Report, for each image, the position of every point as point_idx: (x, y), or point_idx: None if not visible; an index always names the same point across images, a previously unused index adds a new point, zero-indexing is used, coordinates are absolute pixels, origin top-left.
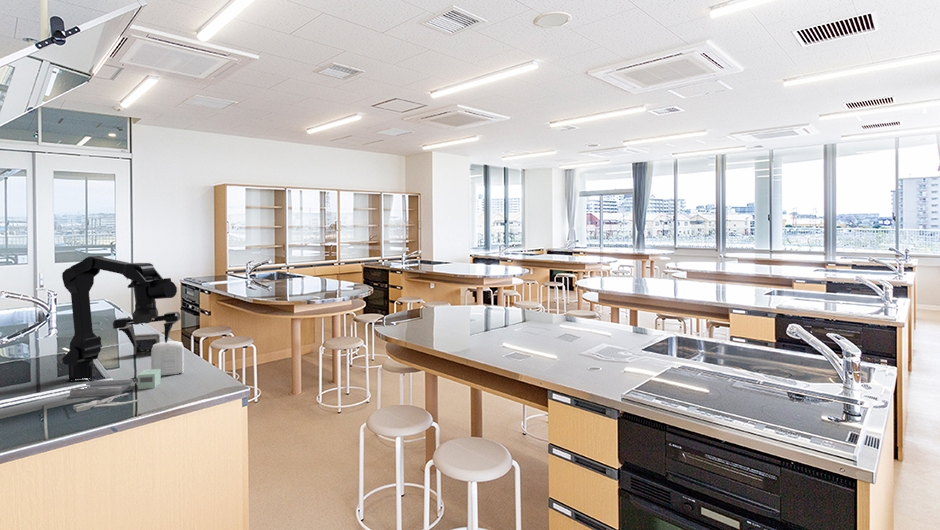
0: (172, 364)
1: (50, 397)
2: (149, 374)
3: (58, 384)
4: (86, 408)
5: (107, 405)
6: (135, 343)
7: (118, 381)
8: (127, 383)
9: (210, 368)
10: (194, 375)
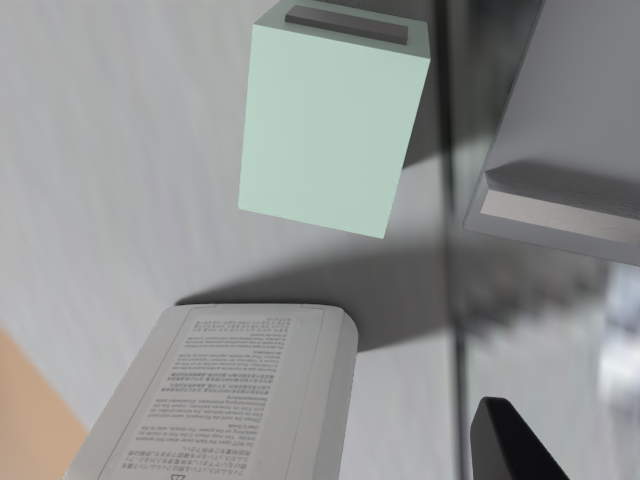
0: (196, 355)
1: None
2: (308, 36)
3: None
4: None
5: None
6: (485, 472)
7: (589, 204)
8: (515, 180)
9: (25, 341)
10: (72, 233)
